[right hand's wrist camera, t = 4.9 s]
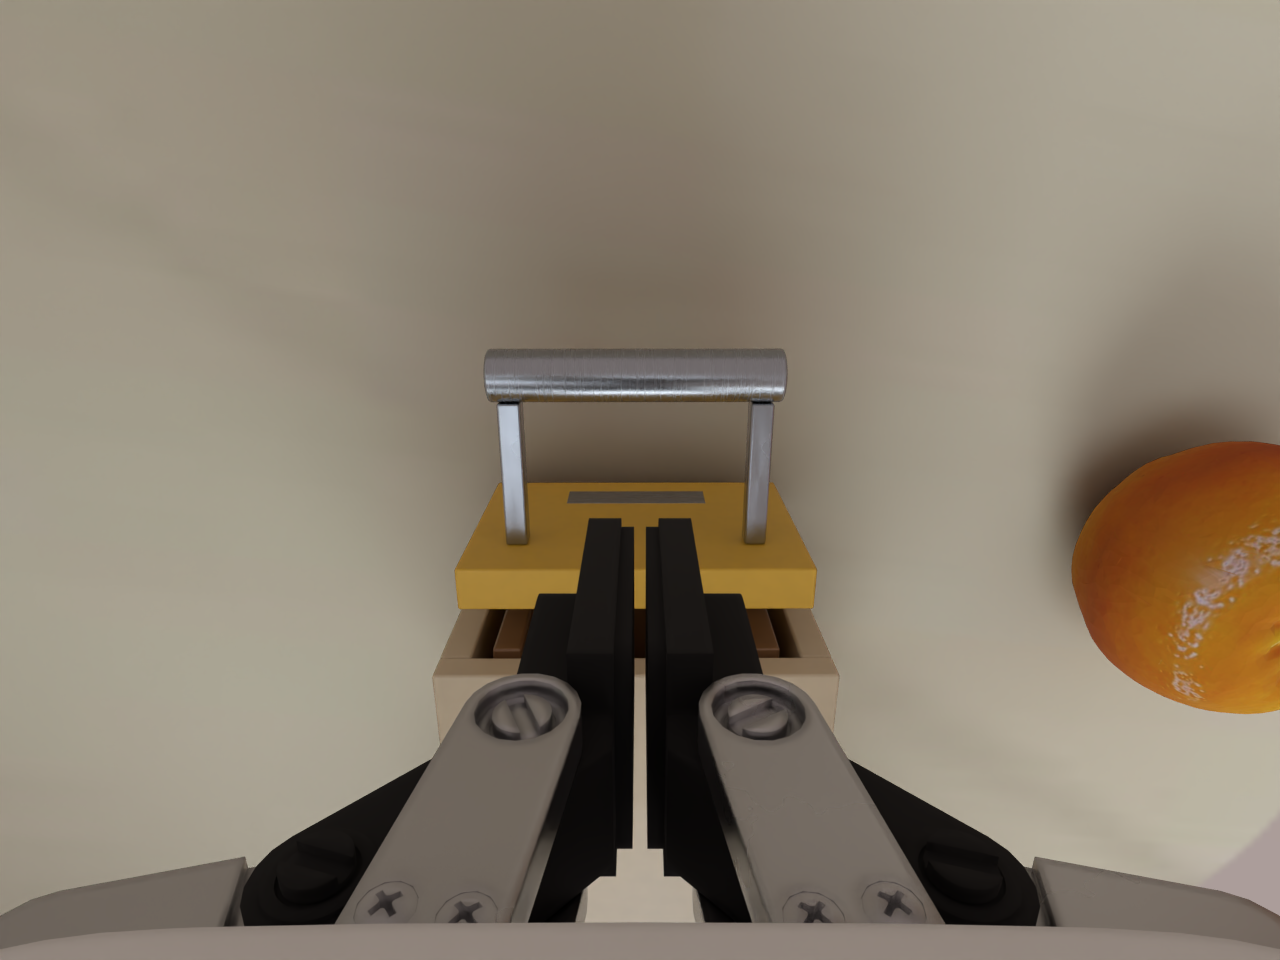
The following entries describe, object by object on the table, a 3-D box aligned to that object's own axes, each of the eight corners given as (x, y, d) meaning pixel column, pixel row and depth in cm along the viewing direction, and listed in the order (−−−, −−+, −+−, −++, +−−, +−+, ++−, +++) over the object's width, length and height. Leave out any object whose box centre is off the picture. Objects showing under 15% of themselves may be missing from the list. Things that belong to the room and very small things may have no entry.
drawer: (486, 322, 23) (432, 362, 17) (784, 322, 23) (837, 362, 17) (518, 756, 29) (486, 901, 23) (755, 756, 29) (786, 900, 23)
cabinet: (491, 539, 27) (430, 675, 19) (781, 539, 27) (841, 674, 19) (512, 812, 31) (470, 1014, 23) (761, 811, 31) (802, 1013, 23)
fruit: (1268, 745, 25) (1473, 787, 18) (1011, 653, 28) (1095, 655, 20) (1322, 519, 26) (1536, 466, 19) (1072, 449, 29) (1172, 377, 21)
